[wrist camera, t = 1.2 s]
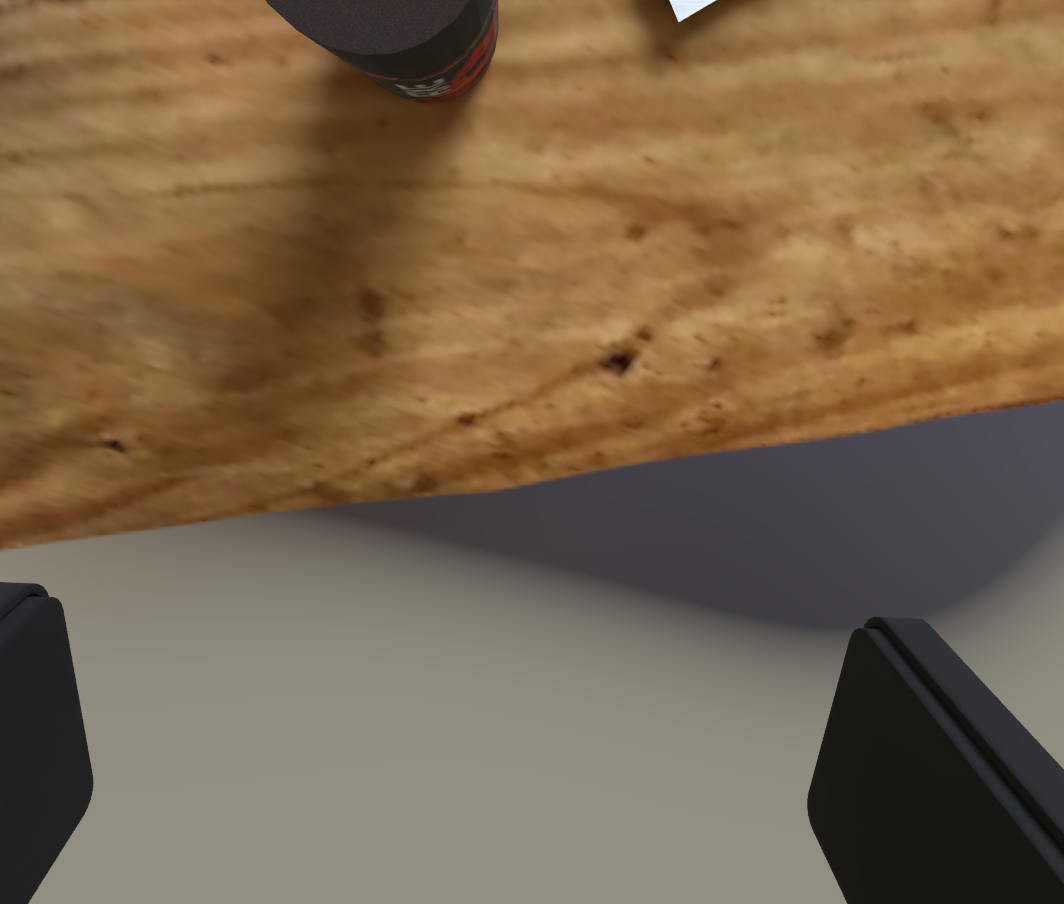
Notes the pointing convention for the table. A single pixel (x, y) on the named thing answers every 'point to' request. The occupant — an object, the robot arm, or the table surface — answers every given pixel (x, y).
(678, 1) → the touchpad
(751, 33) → the table surface
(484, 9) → the deodorant
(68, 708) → the robot arm
